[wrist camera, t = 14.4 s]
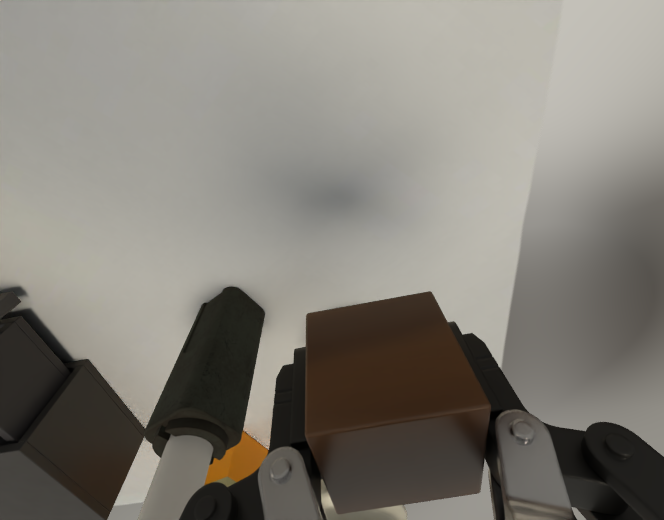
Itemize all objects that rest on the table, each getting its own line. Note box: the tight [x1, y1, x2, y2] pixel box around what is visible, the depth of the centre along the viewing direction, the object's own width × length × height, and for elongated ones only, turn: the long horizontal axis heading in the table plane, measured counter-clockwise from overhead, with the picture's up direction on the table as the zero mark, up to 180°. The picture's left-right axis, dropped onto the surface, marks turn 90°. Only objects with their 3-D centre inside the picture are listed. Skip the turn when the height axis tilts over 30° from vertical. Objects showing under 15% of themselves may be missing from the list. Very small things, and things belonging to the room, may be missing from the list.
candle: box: [137, 287, 265, 520], centre depth 22 cm, size 5×5×25 cm
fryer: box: [0, 360, 145, 520], centre depth 35 cm, size 14×12×10 cm
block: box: [305, 291, 491, 514], centre depth 11 cm, size 4×4×4 cm
